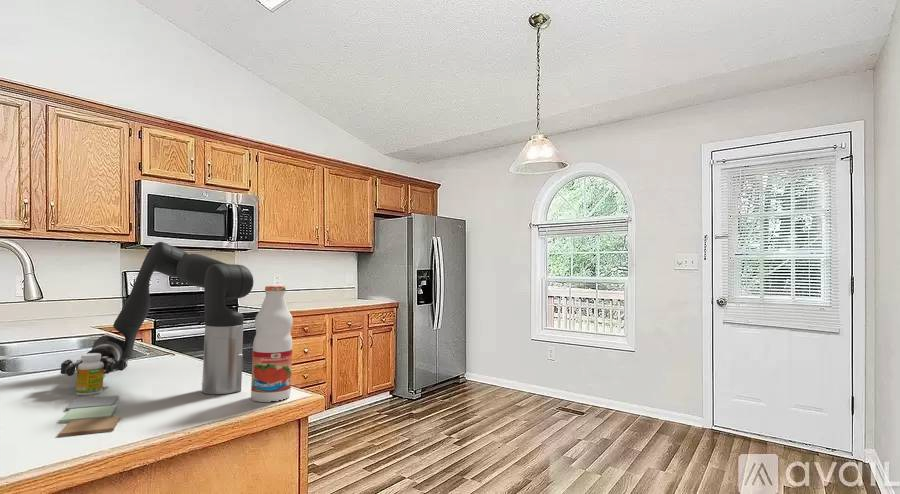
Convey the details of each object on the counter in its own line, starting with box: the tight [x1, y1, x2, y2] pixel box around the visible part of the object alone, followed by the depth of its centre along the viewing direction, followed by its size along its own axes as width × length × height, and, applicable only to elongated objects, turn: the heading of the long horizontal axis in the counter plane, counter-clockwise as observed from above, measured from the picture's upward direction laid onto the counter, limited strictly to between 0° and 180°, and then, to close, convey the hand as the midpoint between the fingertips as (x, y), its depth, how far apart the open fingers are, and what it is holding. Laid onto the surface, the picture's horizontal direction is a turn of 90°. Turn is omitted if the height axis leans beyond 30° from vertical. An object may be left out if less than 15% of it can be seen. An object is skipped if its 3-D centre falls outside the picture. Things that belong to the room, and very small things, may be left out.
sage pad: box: [59, 404, 118, 424], centre depth 104 cm, size 8×8×1 cm
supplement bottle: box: [75, 352, 105, 396], centre depth 121 cm, size 5×5×10 cm
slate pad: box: [65, 394, 120, 412], centre depth 112 cm, size 8×8×1 cm
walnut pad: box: [58, 415, 121, 438], centre depth 96 cm, size 8×8×1 cm
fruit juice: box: [250, 285, 294, 403], centre depth 121 cm, size 9×9×28 cm
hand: (88, 370), depth 119 cm, fingers open, 7 cm apart
